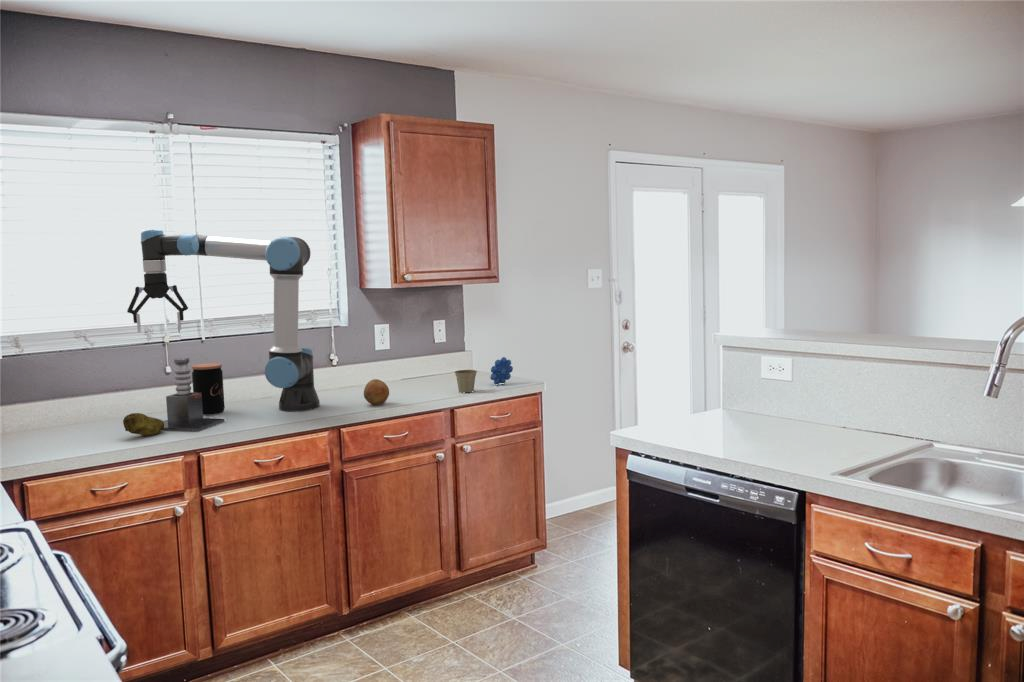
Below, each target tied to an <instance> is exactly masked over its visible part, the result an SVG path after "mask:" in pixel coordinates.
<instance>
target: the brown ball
mask: <svg viewBox="0 0 1024 682" xmlns="http://www.w3.org/2000/svg"><path fill="white" fill-rule="evenodd" d="M363 389H364V390H363V397H364V399H365V401H366V402H367V403H368V404H371V405H373V406H376V405H377V406H378V405H383V404H384V403H385V402H387V400H388V398H389V396H390V389H389V386H388V385H387V384H386V382H384V381H383V380H380V379H376V378H374V379H371V380H369V381H368V382H367V383H366V385H365V387H364V388H363Z"/></svg>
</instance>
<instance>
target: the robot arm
mask: <svg viewBox="0 0 1024 682" xmlns="http://www.w3.org/2000/svg"><path fill="white" fill-rule="evenodd" d="M140 245H141V253H142V268H143V269H142V271H143V272H144V274H143V277H144V278H143V280H144V281H143V282H144V287H143V286H142V287H140V286H136V287H135V290H134V295H133V297H132V298H131V299H132V300H131V302H130V304H129V306H128V308H127V310H126V312H127V313H128V314H132V317H133V318H132V319H133V323H134V324H136V327H137V333H141V332H142V327H141V315H140V313H139V311H140V310H141V309H142V307H143V306H144V305H145V304H146V303H147V302H148V300H149V299H150V298H151V299H153V300H154V299H163V298H164V299H166V300H167V301H168V302H169V303H170V304H171V305H172V306H173V307H174V308H175V309H177V312H176V314H177V317H176V318H177V328H178V331H181V330H182V321H184V311H185V312H186V311H187V310H188V309H189V306H188V305H187V303H186V302H185V301H184V299H183V297H182V296H181V294H180V293H179V291H178V286H177V285H176V284H174V285H168V278H167V275H168V274H167V273H166V271H167V265H166V256H168V257H169V256H186V257H187V256H204V257H219V258H230V259H231V258H232V259H243V260H254V261H255V260H256V261H266V263H267V264H268V265H269V275H270V276H271V277H272V279H273V339H272V341H273V343H272V344H273V345H272V346H271V347H270V348H269V350H268V361H267V363H266V364H265V366H264V376H265V379H266V380H267V381H268V383H269V384H270V385H271V386H273V387H275V388H279V389H282V390H281V393H280V397H279V402H278V409H279V410H280V411H285V412H300V411H310V410H315V409H317V408H320V406H321V404H320V403H321V402H320V399H319V396H318V393H317V390H316V388H315V379H314V375H315V374H314V354H313V350H312V348H309V347H300V346H299V290H300V289H299V283H300V279H301V278H302V277H304V267H305V266H306V264H308V262H309V261H310V259H311V247H310V245H308V243H307V242H306V241H305V240H304V239H302V238H300V237H295V236H286V235H285V236H279V237H276V238H273V240H267V239H256V238H255V239H253V238H242V237H241V238H240V237H229V236H227V237H226V236H214V235H203V234H193V233H191V234H190V233H179V234H165V233H164V230H162V229H143V230H141V232H140ZM169 290H170V291H171V292H173V293H174V295H175V297H176V298H177V300H178V302H179V303H180V304H178V303H177V302H176V301H175V300H174V299H173V298H172V297H171V296H170V295H169V294H168V292H169ZM143 291H144V292H145V294H146V295H145V296H144V297H143V299H142V300H141V301H140V303H139V304H138V305H137V306H136V307H135V305H136V303H137V300H138V298H139V296H140V294H141V293H142V292H143ZM180 305H181V306H182V307H181V306H180ZM134 307H135V309H134Z"/></svg>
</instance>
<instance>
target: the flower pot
mask: <svg viewBox="0 0 1024 682" xmlns="http://www.w3.org/2000/svg"><path fill="white" fill-rule="evenodd" d="M453 373H454V375H455V377H456V381H457V388H458V393H460V392H467V393H468V392H471V393H473V392H472V391H474V392H475V382H476V381H475V380H476V376H477V373H478V370H474V369H460V370H455V371H454V372H453Z"/></svg>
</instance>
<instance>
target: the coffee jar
mask: <svg viewBox="0 0 1024 682" xmlns="http://www.w3.org/2000/svg"><path fill="white" fill-rule="evenodd" d="M222 367H223V365H222V363H219V362H209V363H208V362H206V363H198V364H197V363H196V364H193V365H191V369H192V372H191V379H192V380H191V383H192V392H199V393H202V408H203V416H211V415H217V414H218V415H219V414H221V413H223V412H224V410H225V393H224V377H223V376H224V375H223V369H222Z"/></svg>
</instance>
